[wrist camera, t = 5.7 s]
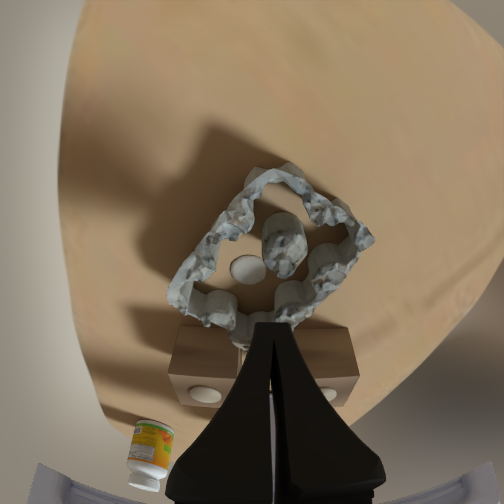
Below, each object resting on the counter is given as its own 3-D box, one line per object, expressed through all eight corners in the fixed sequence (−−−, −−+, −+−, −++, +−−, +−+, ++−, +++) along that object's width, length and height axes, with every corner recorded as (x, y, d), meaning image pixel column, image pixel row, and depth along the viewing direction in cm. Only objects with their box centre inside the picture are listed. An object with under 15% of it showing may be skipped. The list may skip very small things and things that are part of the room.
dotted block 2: (335, 361, 23) (343, 408, 19) (283, 363, 23) (285, 411, 19) (347, 327, 21) (360, 378, 17) (288, 328, 21) (292, 381, 17)
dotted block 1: (241, 362, 23) (239, 411, 19) (189, 359, 23) (180, 406, 20) (240, 327, 21) (236, 381, 17) (180, 324, 21) (167, 376, 17)
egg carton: (257, 323, 21) (256, 369, 18) (167, 270, 19) (148, 315, 15) (371, 222, 16) (395, 263, 13) (272, 137, 14) (275, 158, 10)
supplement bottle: (177, 436, 35) (168, 495, 27) (142, 430, 35) (129, 486, 26) (170, 422, 32) (159, 489, 24) (132, 415, 32) (116, 478, 24)
